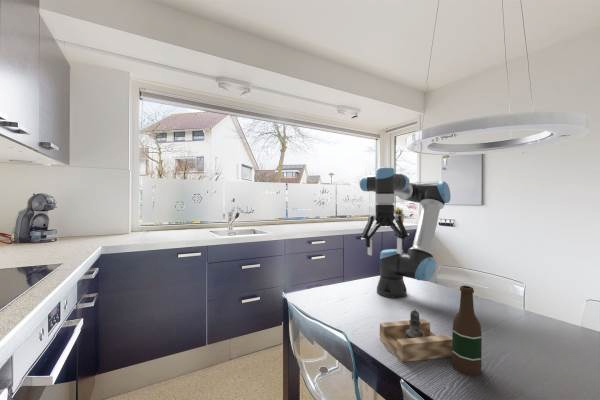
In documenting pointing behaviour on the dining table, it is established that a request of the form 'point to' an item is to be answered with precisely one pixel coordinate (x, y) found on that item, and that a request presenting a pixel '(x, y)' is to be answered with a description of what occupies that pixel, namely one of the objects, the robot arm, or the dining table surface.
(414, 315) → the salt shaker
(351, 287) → the dining table surface
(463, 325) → the beer bottle
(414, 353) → the well block
